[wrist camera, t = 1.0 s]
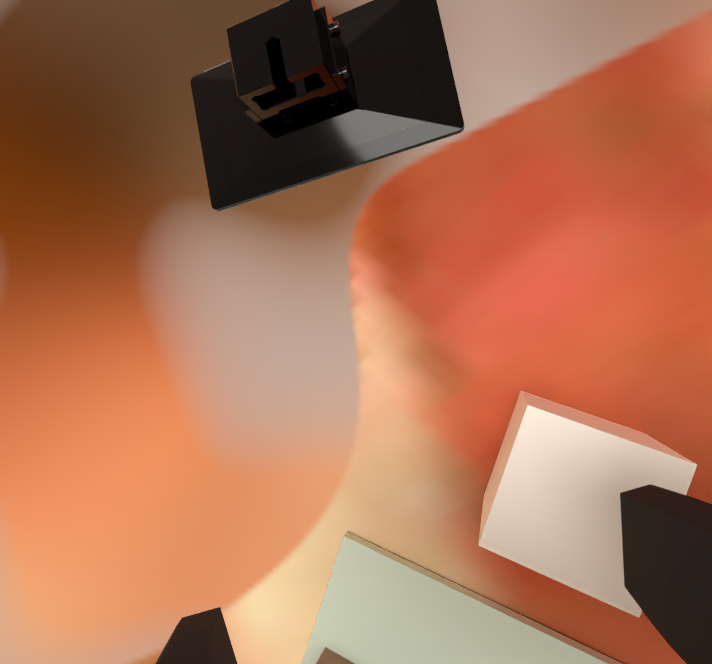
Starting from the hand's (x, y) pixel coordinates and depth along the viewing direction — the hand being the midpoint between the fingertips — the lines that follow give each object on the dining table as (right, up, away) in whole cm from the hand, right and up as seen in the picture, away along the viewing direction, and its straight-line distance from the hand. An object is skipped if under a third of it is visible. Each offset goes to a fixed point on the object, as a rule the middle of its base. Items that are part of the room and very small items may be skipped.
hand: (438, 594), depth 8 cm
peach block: (+6, -1, +10) cm, 12 cm away
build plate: (-3, +15, +14) cm, 21 cm away
